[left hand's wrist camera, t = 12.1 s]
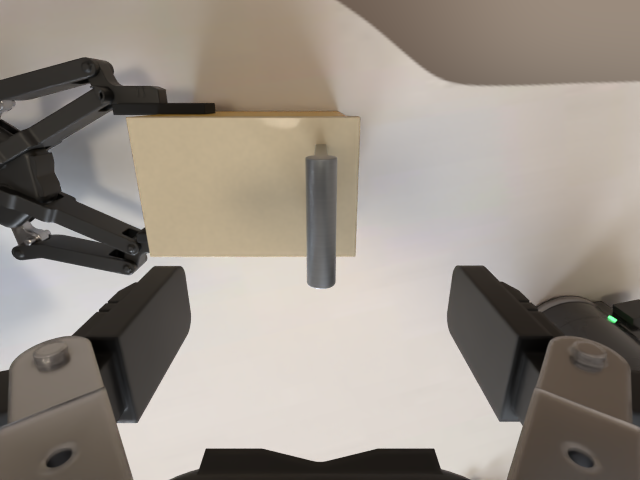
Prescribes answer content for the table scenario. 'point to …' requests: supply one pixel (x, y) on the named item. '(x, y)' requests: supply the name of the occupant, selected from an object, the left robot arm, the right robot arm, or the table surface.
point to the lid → (249, 187)
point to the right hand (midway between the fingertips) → (216, 174)
